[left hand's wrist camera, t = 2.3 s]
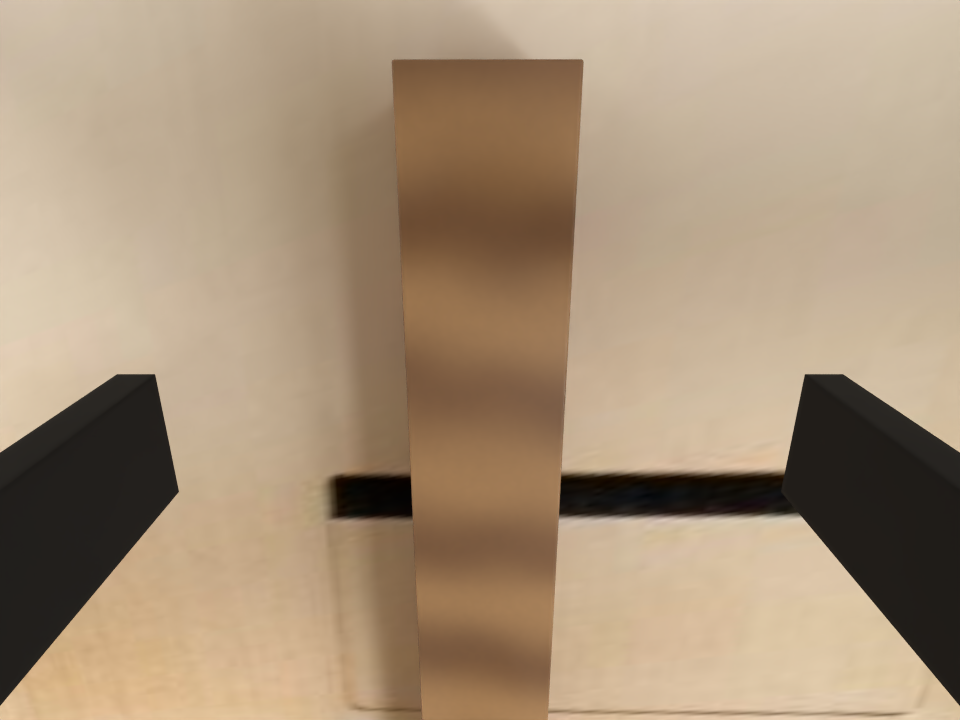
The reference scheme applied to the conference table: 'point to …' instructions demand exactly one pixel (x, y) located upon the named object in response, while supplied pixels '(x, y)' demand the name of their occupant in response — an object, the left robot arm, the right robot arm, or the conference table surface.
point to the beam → (486, 366)
